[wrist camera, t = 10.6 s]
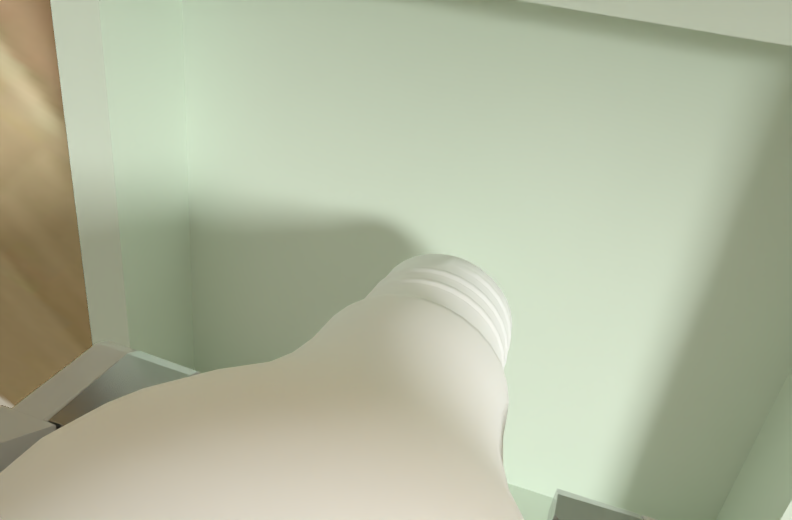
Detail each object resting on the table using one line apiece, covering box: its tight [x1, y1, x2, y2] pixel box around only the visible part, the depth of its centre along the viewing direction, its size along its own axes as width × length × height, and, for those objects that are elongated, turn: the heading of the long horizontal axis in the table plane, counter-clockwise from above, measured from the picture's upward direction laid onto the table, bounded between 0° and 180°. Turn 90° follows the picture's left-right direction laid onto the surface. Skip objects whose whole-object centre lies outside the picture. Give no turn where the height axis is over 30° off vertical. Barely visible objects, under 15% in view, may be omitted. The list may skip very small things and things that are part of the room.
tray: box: [50, 0, 792, 520], centre depth 13 cm, size 15×13×3 cm
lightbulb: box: [0, 254, 524, 520], centre depth 8 cm, size 6×6×11 cm
